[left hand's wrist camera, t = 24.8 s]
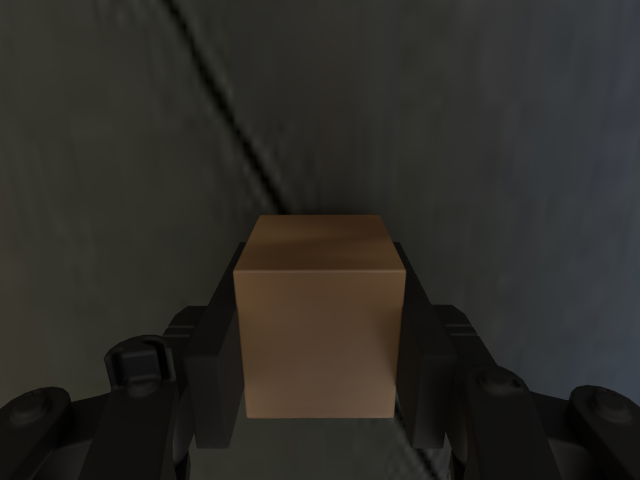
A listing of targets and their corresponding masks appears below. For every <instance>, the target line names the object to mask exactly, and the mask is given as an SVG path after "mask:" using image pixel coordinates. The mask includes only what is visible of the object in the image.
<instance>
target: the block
mask: <svg viewBox="0 0 640 480" xmlns="http://www.w3.org/2000/svg"><path fill="white" fill-rule="evenodd" d="M233 277H234V288H235V298H236V306H237V316H238V327H239V338H240V349H241V360H242V371H243V382H244V394H245V405H246V416H247V418H392V417H393V416H394V408H395V396H396V380H397V369H398V358H399V346H400V335H401V323H402V312H403V303H404V291H405V279H406V270H405V268H404V265H403V263H402V261H401V259H400V257H399V255H398V253H397V251H396V249H395V247H394V244H393V242H392V240H391V238H390V236H389V234H388V232H387V230H386V228H385V226H384V223H383V221H382V219H381V217H380V215H260V216H259V218H258V220H257V222H256V224H255V227H254V229H253V231H252V233H251V235H250V237H249V239H248V241H247V243H246V245H245V247H244V250H243V252H242V254H241V256H240V258H239V260H238V262H237V264H236V266H235V268H234V271H233Z"/></svg>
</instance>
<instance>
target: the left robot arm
mask: <svg viewBox="0 0 640 480" xmlns="http://www.w3.org/2000/svg"><path fill="white" fill-rule="evenodd" d="M246 243H247V242H240V244H239V246H238V248H237V250H236V252H235V254H234V256H233V258H232V260H231V261H230V263H229V265H228V267H227V269H226V271H225V273H224V275H223V277H222V279H221V281H220V283H219V285H218V287H217V289H216V291H215V293H214V295H213V297H212V299H211V301H210V303H209V305H208V306H187V307H186V308H184V309H183V310H182V311H180V312H179V313H178V314H176V315H175V316H174V318H173V319H172V321H171V323H170V324H169V326H168V328H167V329H166V331H165V332H164V334H163V337H162V336H158V335H142V336H137V337H133V338H130V339H127V340H125V341H123V342H120V343H119V344H117V345H116V346H114V347H113V348H112V349H110V350H109V351H108V353H107V354H106V355H105V357H104V361H105V365H106V369H107V373H108V377H109V381H110V385H111V392H110V393H107V394H104V395H100V396H96V397H92V398H88V399H83V400H79V401H74V402H71V399H70V396H69V393H68V392H67V391H65V390H64V389H63V388H58V387H46V388H39V389H36V390H33V391H30V392H27V393H24V394H23V395H21V396H19V397H17V398H15V399H13V400H11V401H10V402H9V403H7V404H6V405H5V406H3V407H2V408H1V409H0V480H189V478H190V467H191V463H190V457H189V451H188V448H189V446H190V443H191V440H192V437H193V435H194V433H195V439H196V445H197V448H229V444H230V440H231V436H232V432H233V428H234V424H235V420H236V416H237V412H238V408H239V404H240V400H241V396H242V392H243V388H244V382H243V371H242V360H241V349H240V338H239V327H238V316H237V306H236V298H235V288H234V277H233V271H234V268H235V266H236V264H237V262H238V260H239V258H240V256H241V254H242V252H243V250H244V247H245V245H246ZM393 244H394V247H395V249H396V251H397V253H398V255H399V257H400V259H401V261H402V263H403V265H404V268H405V270H406V279H405V291H404V303H403V312H402V323H401V335H400V346H399V358H398V369H397V380H396V389H397V393H398V397H399V401H400V405H401V409H402V413H403V417H404V421H405V425H406V429H407V433H408V437H409V441H410V445H411V448H443V443H444V437H445V431H446V434H447V436H448V439H449V442H450V445H451V447H452V451H451V457H450V462H449V468H448V474H447V480H640V407H639V406H638V405H636V404H635V403H634V402H633V401H631V400H630V399H629V398H627V397H625V396H623V395H621V394H619V393H617V392H615V391H612V390H610V389H606V388H603V387H600V386H591V385H584V386H579V387H576V388H575V389H574V390H573V391H572V392H571V395H570V398H569V401H568V400H564V399H559V398H555V397H551V396H546V395H542V394H538V393H535V392H531V391H529V389H528V387H527V386H526V384H525V383H524V381H523V380H522V379H521V378H520V377H518V376H517V375H516V374H515V373H513V372H511V371H509V370H507V369H505V368H503V367H500V366H498V365H497V364H496V362H495V361H494V359H493V358H492V356H491V354H490V353H489V351H488V350H487V348H486V347H485V345H484V343H483V342H482V340H481V339H480V337H479V336H477V333H476V331H475V329H474V328H473V327H472V325H471V323H470V322H469V320H468V318H467V317H466V315H465V314H464V313H463V312H461V311H460V310H458V309H457V308H456V307H454V306H453V305H431V303H430V301H429V299H428V297H427V295H426V293H425V291H424V289H423V287H422V286H421V284H420V282H419V280H418V278H417V276H416V274H415V272H414V270H413V268H412V266H411V264H410V262H409V260H408V258H407V256H406V254H405V252H404V250H403V248H402V246H401V244H400V242H393Z"/></svg>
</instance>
